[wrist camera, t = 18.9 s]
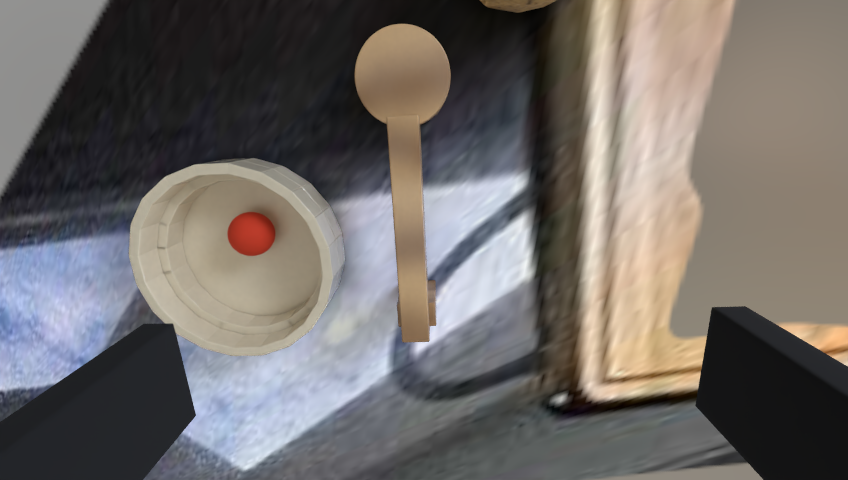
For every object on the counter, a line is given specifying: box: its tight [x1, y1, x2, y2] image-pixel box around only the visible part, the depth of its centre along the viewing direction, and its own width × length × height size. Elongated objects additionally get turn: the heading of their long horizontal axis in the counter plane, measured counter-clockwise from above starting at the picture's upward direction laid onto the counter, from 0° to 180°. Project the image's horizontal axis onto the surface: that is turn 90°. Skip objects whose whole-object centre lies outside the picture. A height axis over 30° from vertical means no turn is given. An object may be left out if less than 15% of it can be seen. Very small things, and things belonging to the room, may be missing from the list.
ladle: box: [355, 24, 451, 342], centre depth 30 cm, size 22×6×7 cm, turn 3°
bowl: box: [129, 158, 345, 356], centre depth 33 cm, size 16×16×5 cm
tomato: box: [227, 212, 275, 256], centre depth 33 cm, size 4×4×4 cm
